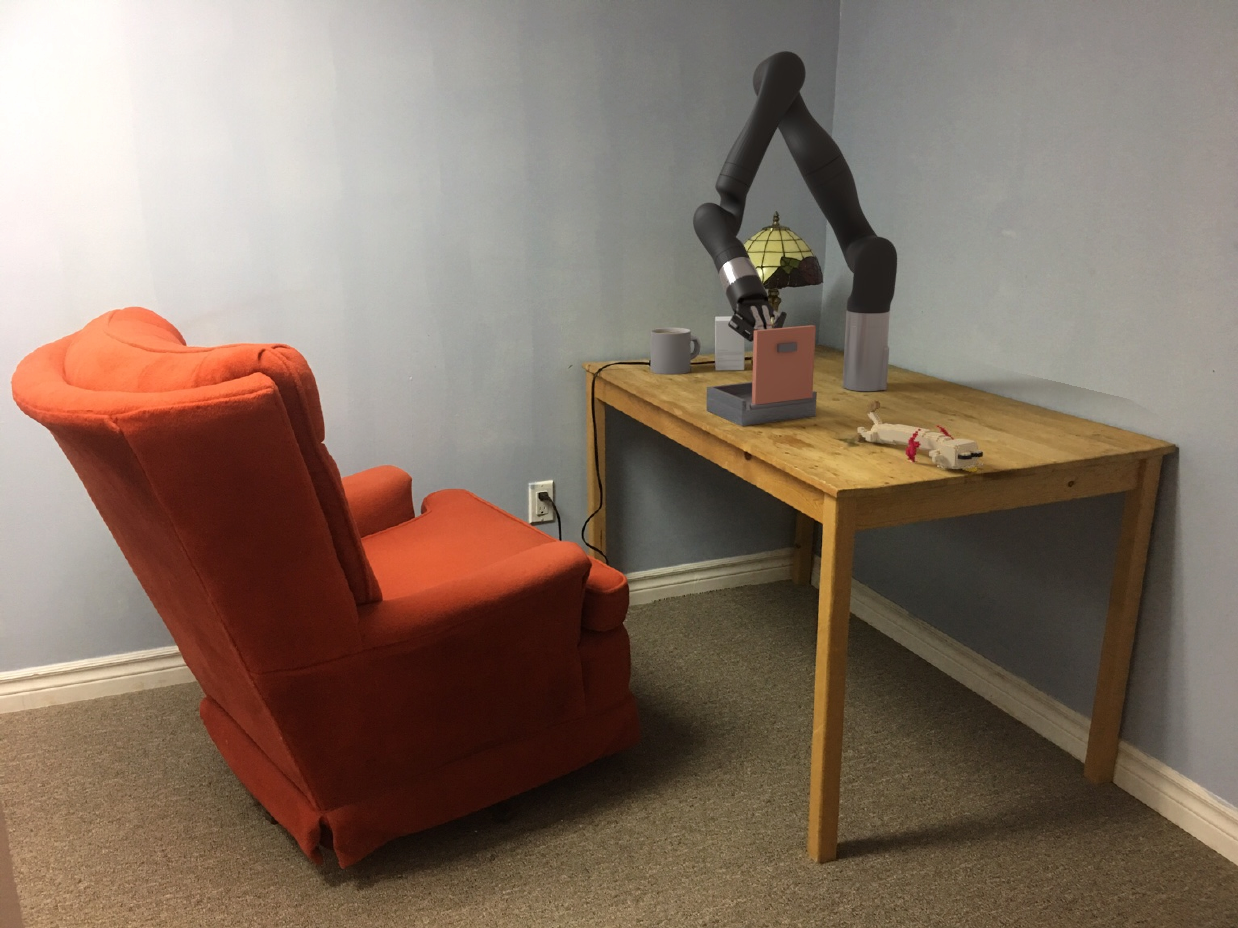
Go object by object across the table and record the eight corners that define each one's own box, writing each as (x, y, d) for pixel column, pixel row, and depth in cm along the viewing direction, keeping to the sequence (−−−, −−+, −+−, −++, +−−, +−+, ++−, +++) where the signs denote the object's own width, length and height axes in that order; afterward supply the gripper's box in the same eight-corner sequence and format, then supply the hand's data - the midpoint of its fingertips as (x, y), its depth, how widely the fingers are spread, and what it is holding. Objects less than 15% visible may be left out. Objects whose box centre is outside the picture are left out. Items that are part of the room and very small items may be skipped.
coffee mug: (658, 375, 223) (657, 334, 220) (645, 368, 232) (645, 329, 230) (709, 371, 227) (709, 331, 224) (694, 364, 236) (695, 325, 233)
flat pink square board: (749, 409, 176) (751, 330, 171) (810, 401, 181) (814, 325, 177) (754, 411, 174) (756, 332, 170) (816, 403, 179) (820, 326, 175)
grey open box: (706, 410, 189) (706, 386, 187) (776, 402, 195) (777, 378, 193) (741, 426, 176) (742, 400, 175) (815, 416, 183) (816, 391, 181)
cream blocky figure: (845, 451, 164) (955, 476, 143) (845, 403, 162) (956, 421, 141) (887, 443, 169) (1000, 466, 147) (888, 396, 167) (1002, 413, 145)
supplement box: (743, 365, 234) (744, 315, 231) (744, 371, 227) (745, 320, 224) (714, 365, 235) (715, 315, 231) (714, 371, 228) (715, 320, 224)
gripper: (720, 275, 180) (751, 346, 172) (778, 272, 185) (810, 341, 177) (707, 299, 186) (736, 369, 179) (763, 295, 191) (793, 364, 184)
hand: (773, 355), depth 178 cm, fingers closed
